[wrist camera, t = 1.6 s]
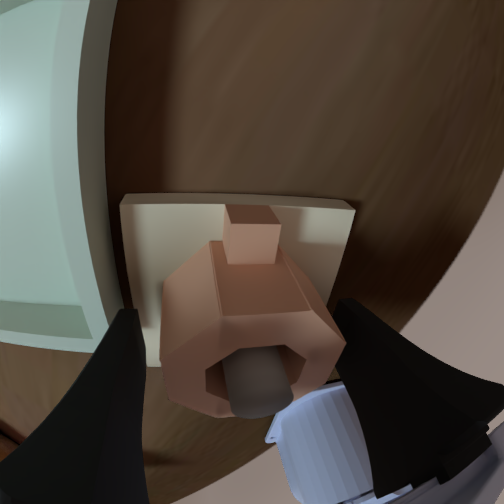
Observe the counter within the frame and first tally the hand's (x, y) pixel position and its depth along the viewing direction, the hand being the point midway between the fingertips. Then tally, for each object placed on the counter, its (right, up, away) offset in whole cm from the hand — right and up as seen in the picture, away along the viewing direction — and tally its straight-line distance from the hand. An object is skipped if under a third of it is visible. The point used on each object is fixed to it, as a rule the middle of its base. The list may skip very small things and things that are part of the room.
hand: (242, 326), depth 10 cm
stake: (0, +1, +2) cm, 2 cm away
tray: (-11, +6, -3) cm, 13 cm away
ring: (0, +1, +1) cm, 1 cm away
